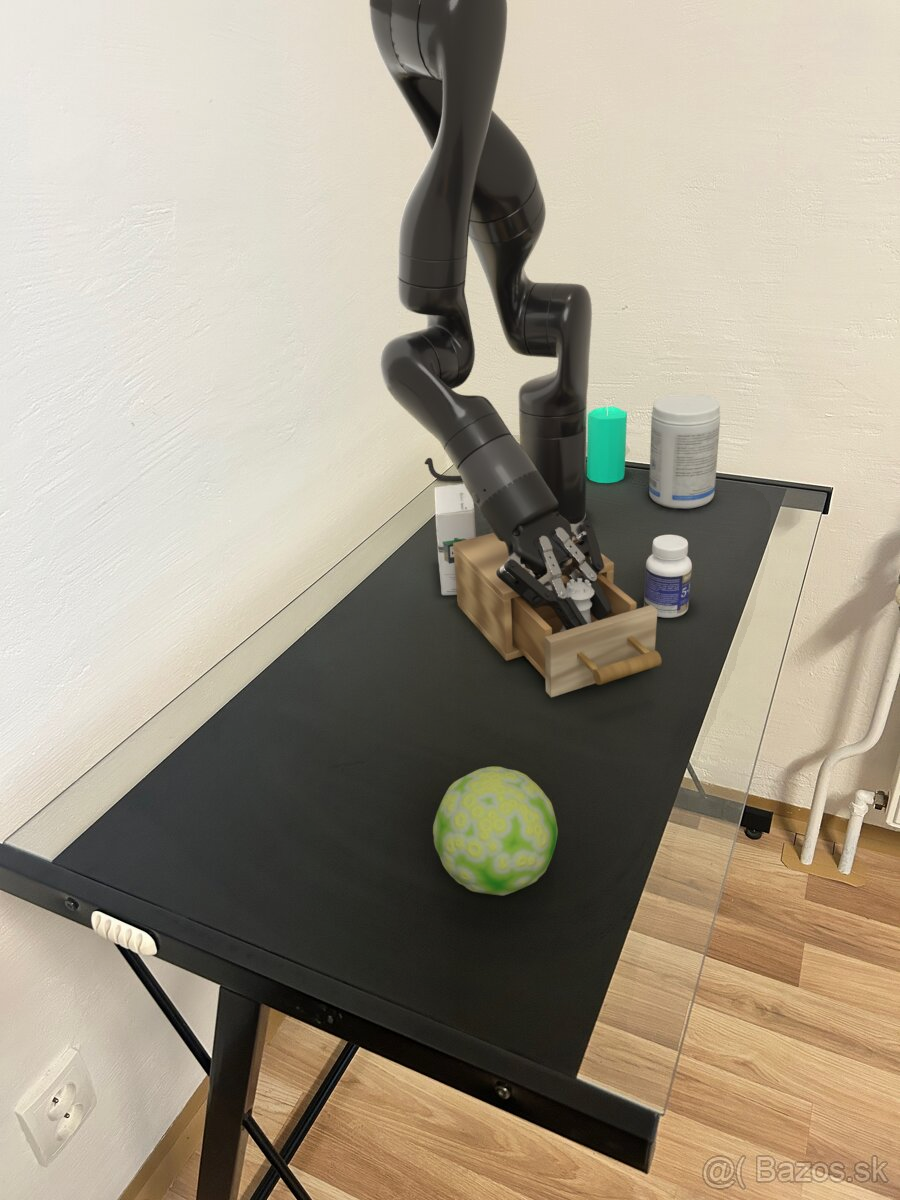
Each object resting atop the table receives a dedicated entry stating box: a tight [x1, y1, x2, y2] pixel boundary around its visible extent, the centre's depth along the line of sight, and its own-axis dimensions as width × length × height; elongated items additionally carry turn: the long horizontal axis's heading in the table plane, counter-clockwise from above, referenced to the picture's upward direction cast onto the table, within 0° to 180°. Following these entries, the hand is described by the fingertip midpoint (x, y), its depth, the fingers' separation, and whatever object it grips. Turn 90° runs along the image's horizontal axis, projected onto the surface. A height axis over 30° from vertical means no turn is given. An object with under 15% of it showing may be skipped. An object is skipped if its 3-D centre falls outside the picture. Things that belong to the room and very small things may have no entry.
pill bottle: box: [643, 534, 693, 619], centre depth 104 cm, size 5×5×9 cm
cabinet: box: [453, 532, 615, 662], centre depth 104 cm, size 14×14×9 cm
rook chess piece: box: [560, 578, 594, 632], centre depth 94 cm, size 4×4×8 cm
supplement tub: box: [648, 393, 721, 510], centre depth 129 cm, size 10×10×15 cm
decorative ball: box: [432, 766, 559, 897], centre depth 70 cm, size 10×10×10 cm
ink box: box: [434, 483, 477, 596], centre depth 113 cm, size 9×5×12 cm, turn 2°
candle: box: [586, 402, 628, 484], centre depth 138 cm, size 6×6×12 cm
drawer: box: [511, 574, 662, 698], centre depth 94 cm, size 18×13×7 cm
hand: (593, 623), depth 93 cm, fingers closed on rook chess piece, 3 cm apart
